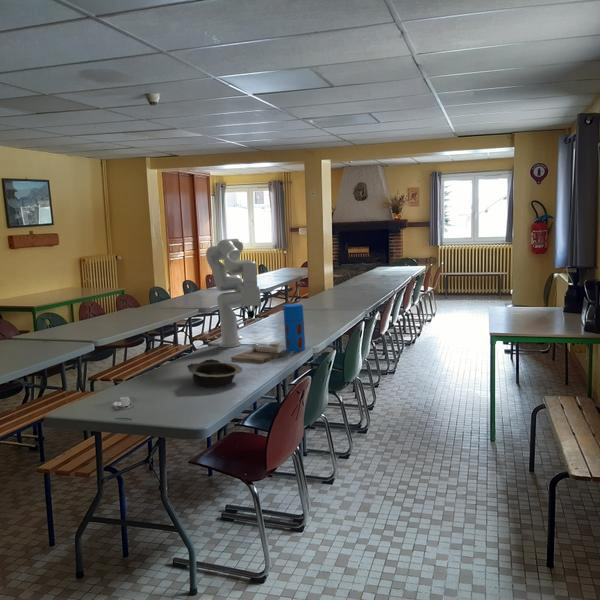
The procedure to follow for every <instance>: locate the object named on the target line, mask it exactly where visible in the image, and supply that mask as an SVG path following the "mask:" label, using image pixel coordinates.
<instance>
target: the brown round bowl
mask: <svg viewBox="0 0 600 600" xmlns="http://www.w3.org/2000/svg"><path fill="white" fill-rule="evenodd" d="M187 369H188V372H189V373H191V374H192V381H193V382H194V383H197V384H199V386H200V387H203V388H215V387H225V386H227V385H229V384H231V383H232V382H233V380H234V378H235V377H236V375H239V374H240V373H242V371H243V367H241V366H239V365H238V364H235V363H231V362H221V361H219V360H217V359H206V360H204V361H201V362H200V363H190V364H188V365H187Z"/></svg>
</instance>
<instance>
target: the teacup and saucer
mask: <svg viewBox="0 0 600 600" xmlns="http://www.w3.org/2000/svg"><path fill="white" fill-rule="evenodd" d="M130 403H131V399H129V396H122V397H120V401H115V402H113V403H112V406H113V407H114V406H121V405H122V406H128V407H129V404H130ZM122 406H121V407H122Z"/></svg>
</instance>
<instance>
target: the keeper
mask: <svg viewBox="0 0 600 600" xmlns="http://www.w3.org/2000/svg"><path fill="white" fill-rule="evenodd" d="M268 344H269V345H268V346H275V347H280V343H273V342H272V343H268Z"/></svg>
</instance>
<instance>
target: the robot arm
mask: <svg viewBox="0 0 600 600" xmlns="http://www.w3.org/2000/svg"><path fill="white" fill-rule="evenodd" d="M243 250H244V245H243V242H242V240H240V239H239V238H226V239H222V240H220V241H218V244H217V245H214V246H210V247H208V248H207V249H206V251H205V257H206V258H205V259H206V262H207V263H208V266H209V267H210V270H211V272H212V275H213V279H214V280H213V281H214V284H215V286H216V290H217V291H218V292H222V293H220V294H219V295H218V296H217V297H216V301H217V306H218V311H219V321H220V332H221V333H220V334H221V336H220V337H221V343H219V347H220V348H236V347H239V346H241V345H242V343H241V341H240V340H242V339H243V336H239V335H238V334H239V333H238V322H237V321H238V320H237V314H236V312H234V310H233V309H235V308H236V309H237V308H242V309H245V310H247V311H248V318H249V319H254V317H255V311H256V309H257V308H261V306H262V304H261V300H262V299H261V292H260V287H259V286H258V272H257V270H258V269H257V262H256V261H253V260H251V259H240V257H241V253H242V252H243ZM239 259H240V260H239ZM222 260H223V262H222ZM240 275H242V277H241V276H240Z"/></svg>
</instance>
